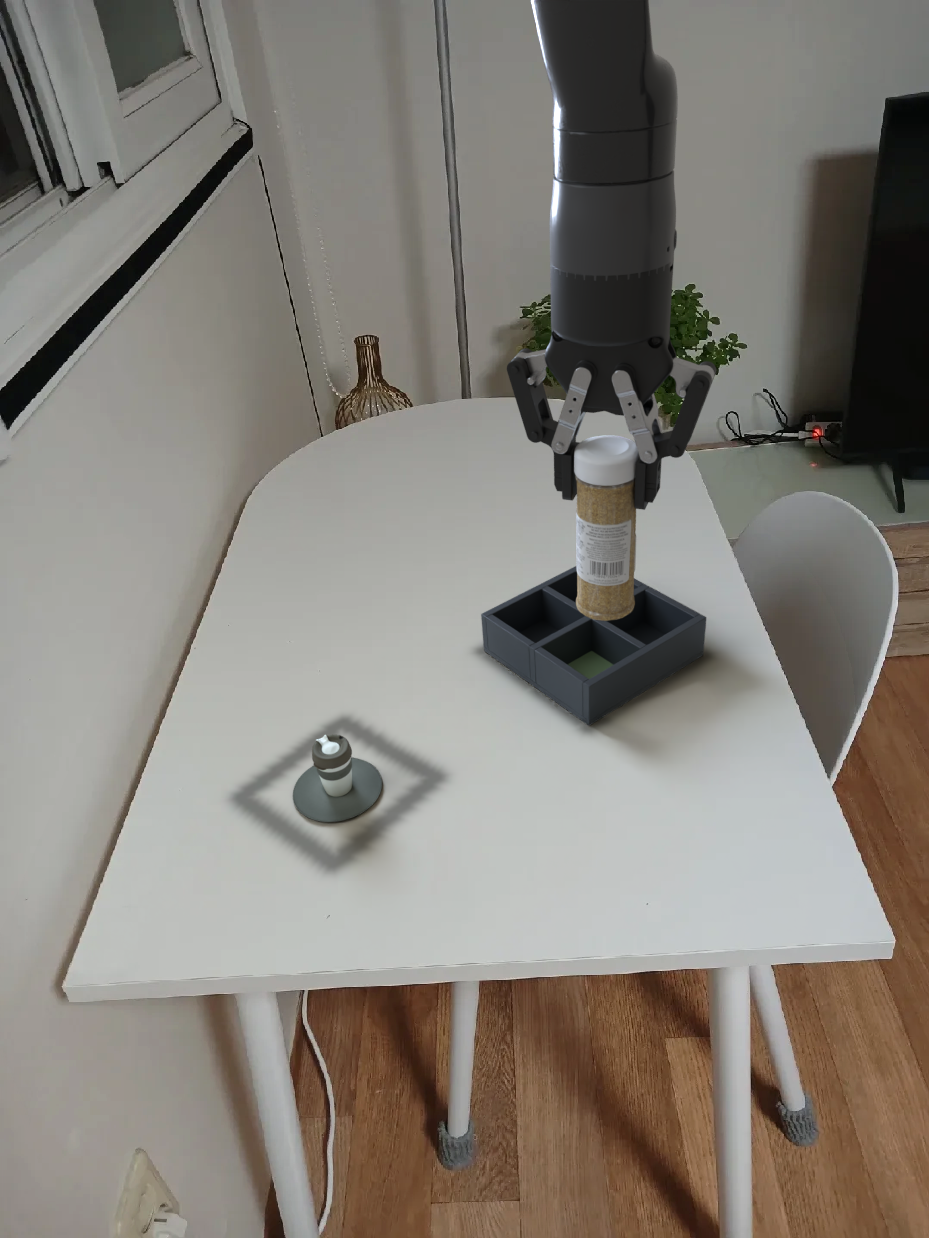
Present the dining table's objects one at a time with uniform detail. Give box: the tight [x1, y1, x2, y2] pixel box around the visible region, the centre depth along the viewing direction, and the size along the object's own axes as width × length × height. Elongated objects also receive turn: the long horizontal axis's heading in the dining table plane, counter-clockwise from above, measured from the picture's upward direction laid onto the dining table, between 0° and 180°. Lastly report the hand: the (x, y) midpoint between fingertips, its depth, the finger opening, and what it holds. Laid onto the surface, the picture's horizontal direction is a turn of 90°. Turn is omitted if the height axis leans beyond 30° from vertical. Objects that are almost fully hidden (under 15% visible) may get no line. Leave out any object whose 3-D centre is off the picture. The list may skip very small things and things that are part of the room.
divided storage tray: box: [480, 565, 707, 726], centre depth 94 cm, size 15×15×5 cm
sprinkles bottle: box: [574, 434, 639, 621], centre depth 70 cm, size 5×5×13 cm
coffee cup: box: [292, 734, 383, 823], centre depth 81 cm, size 12×12×5 cm
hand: (606, 498), depth 68 cm, fingers closed on sprinkles bottle, 4 cm apart
